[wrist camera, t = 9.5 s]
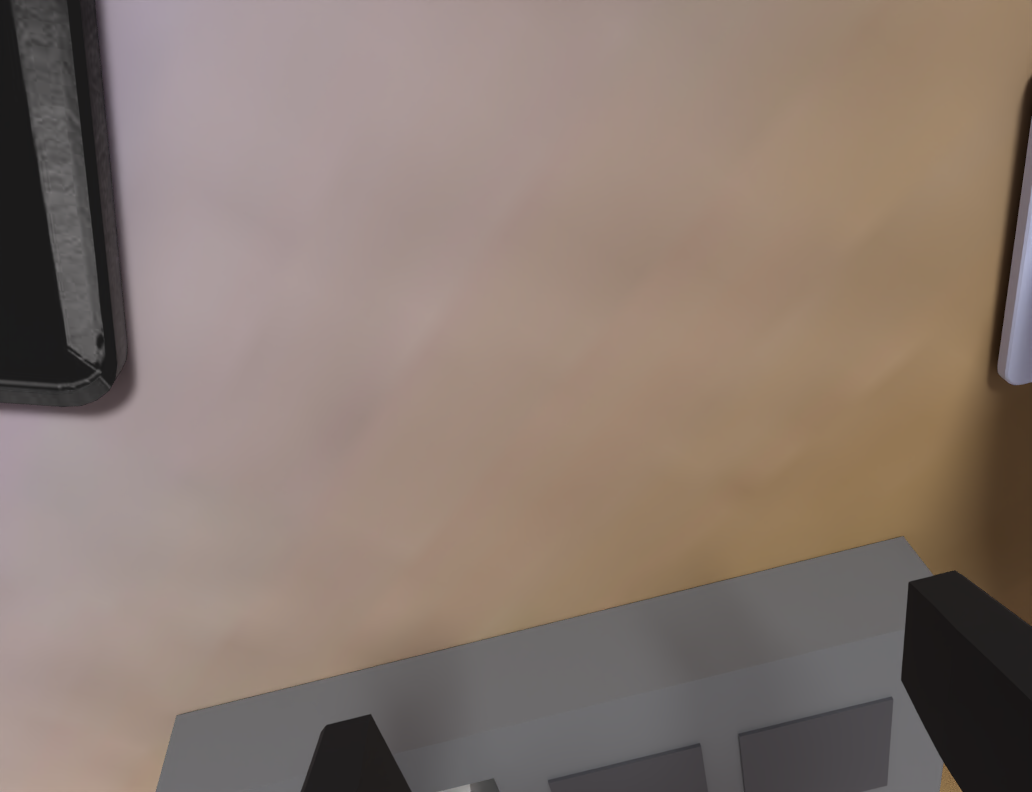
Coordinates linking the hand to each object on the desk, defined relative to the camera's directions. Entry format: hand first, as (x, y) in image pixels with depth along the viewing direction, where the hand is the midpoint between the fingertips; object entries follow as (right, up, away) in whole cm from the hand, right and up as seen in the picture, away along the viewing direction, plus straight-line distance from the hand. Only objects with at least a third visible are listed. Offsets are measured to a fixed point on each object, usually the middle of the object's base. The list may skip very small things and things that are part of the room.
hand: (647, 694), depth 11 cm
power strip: (0, -7, +16) cm, 17 cm away
